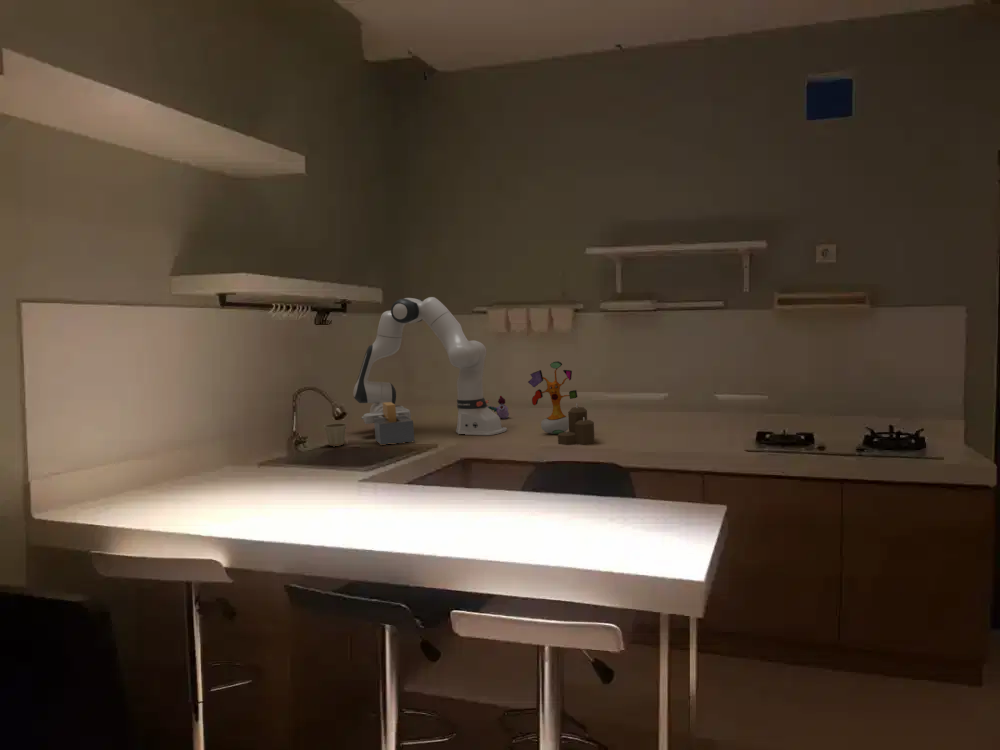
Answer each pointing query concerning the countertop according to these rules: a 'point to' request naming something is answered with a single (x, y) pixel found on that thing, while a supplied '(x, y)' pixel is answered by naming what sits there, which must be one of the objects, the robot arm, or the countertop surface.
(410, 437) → the block
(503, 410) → the toy
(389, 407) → the tan rectangular block
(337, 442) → the flower pot
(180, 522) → the countertop surface
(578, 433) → the candle
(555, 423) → the decorative sculpture
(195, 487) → the countertop surface
